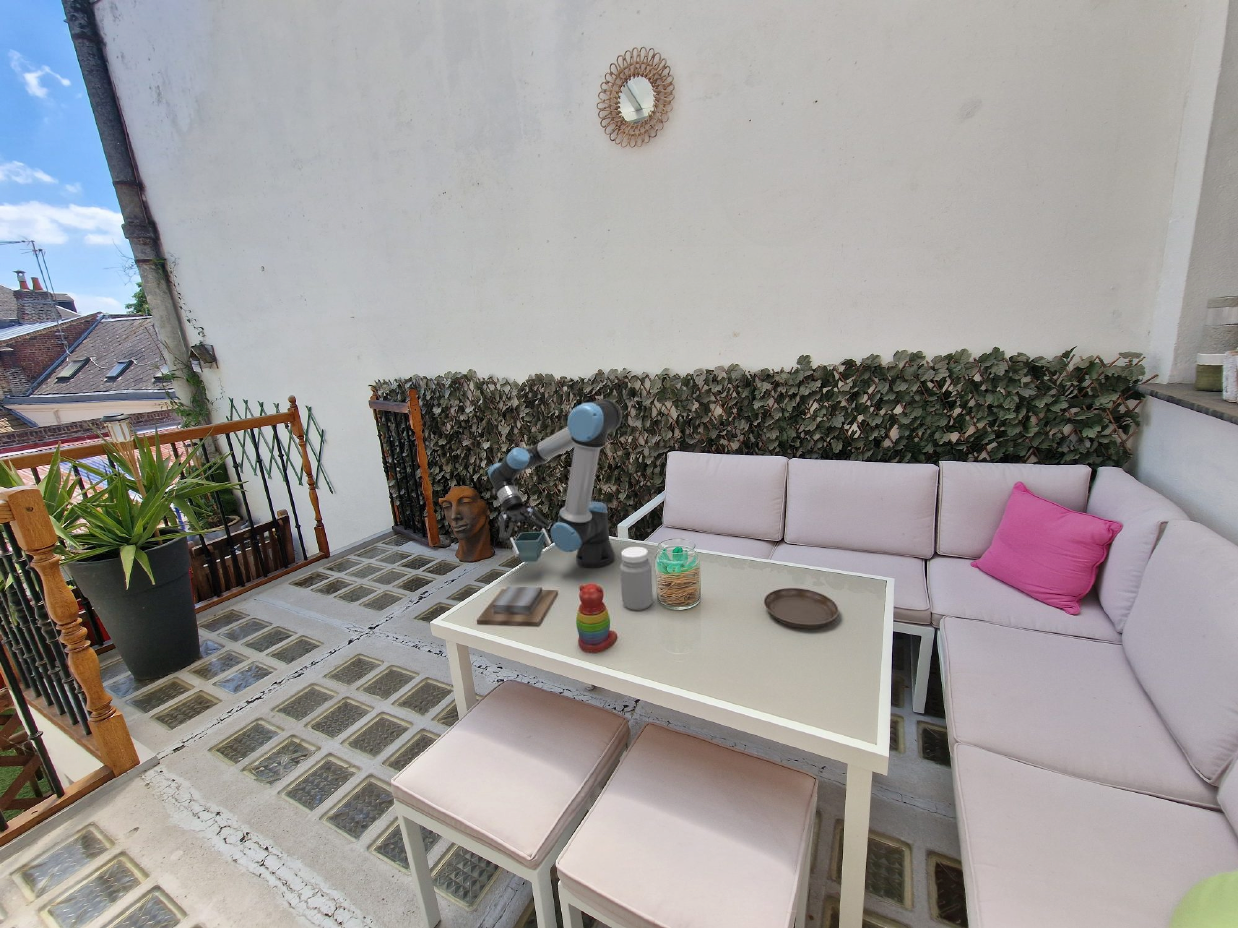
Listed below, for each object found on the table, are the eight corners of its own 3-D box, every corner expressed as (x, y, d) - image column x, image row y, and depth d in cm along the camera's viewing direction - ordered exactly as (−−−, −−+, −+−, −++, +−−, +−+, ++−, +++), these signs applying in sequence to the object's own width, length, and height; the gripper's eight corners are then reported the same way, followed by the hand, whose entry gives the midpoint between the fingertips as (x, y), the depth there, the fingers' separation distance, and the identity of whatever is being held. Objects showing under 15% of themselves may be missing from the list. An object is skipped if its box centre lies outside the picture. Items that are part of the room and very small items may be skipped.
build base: (558, 594, 171) (556, 581, 170) (539, 626, 152) (537, 612, 151) (502, 592, 175) (500, 580, 174) (477, 624, 156) (475, 610, 155)
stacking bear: (619, 635, 145) (615, 578, 141) (607, 655, 135) (602, 595, 131) (584, 630, 148) (579, 574, 144) (570, 650, 139) (564, 591, 135)
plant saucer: (848, 610, 150) (849, 600, 149) (821, 642, 135) (821, 631, 135) (782, 590, 164) (782, 581, 163) (751, 618, 149) (751, 607, 149)
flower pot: (546, 554, 186) (543, 531, 184) (540, 564, 178) (537, 540, 176) (523, 555, 187) (520, 532, 185) (516, 565, 179) (513, 541, 176)
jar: (630, 614, 155) (626, 560, 151) (617, 601, 164) (613, 549, 160) (658, 606, 159) (655, 553, 155) (644, 593, 168) (641, 543, 163)
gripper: (537, 498, 197) (560, 545, 188) (478, 513, 184) (499, 565, 175) (542, 487, 192) (566, 535, 183) (481, 502, 179) (503, 555, 170)
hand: (533, 550), depth 179 cm, fingers closed on flower pot, 12 cm apart
